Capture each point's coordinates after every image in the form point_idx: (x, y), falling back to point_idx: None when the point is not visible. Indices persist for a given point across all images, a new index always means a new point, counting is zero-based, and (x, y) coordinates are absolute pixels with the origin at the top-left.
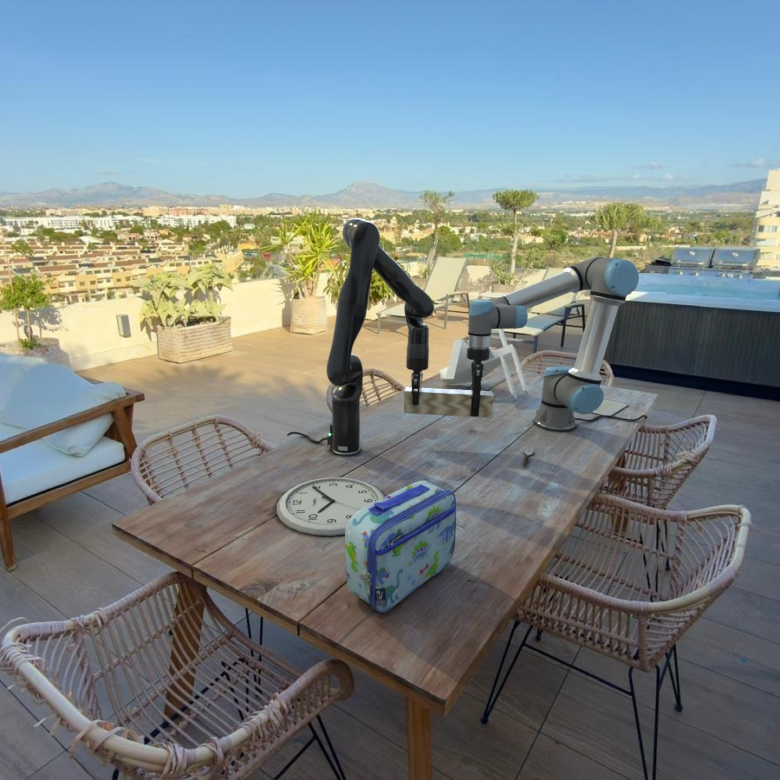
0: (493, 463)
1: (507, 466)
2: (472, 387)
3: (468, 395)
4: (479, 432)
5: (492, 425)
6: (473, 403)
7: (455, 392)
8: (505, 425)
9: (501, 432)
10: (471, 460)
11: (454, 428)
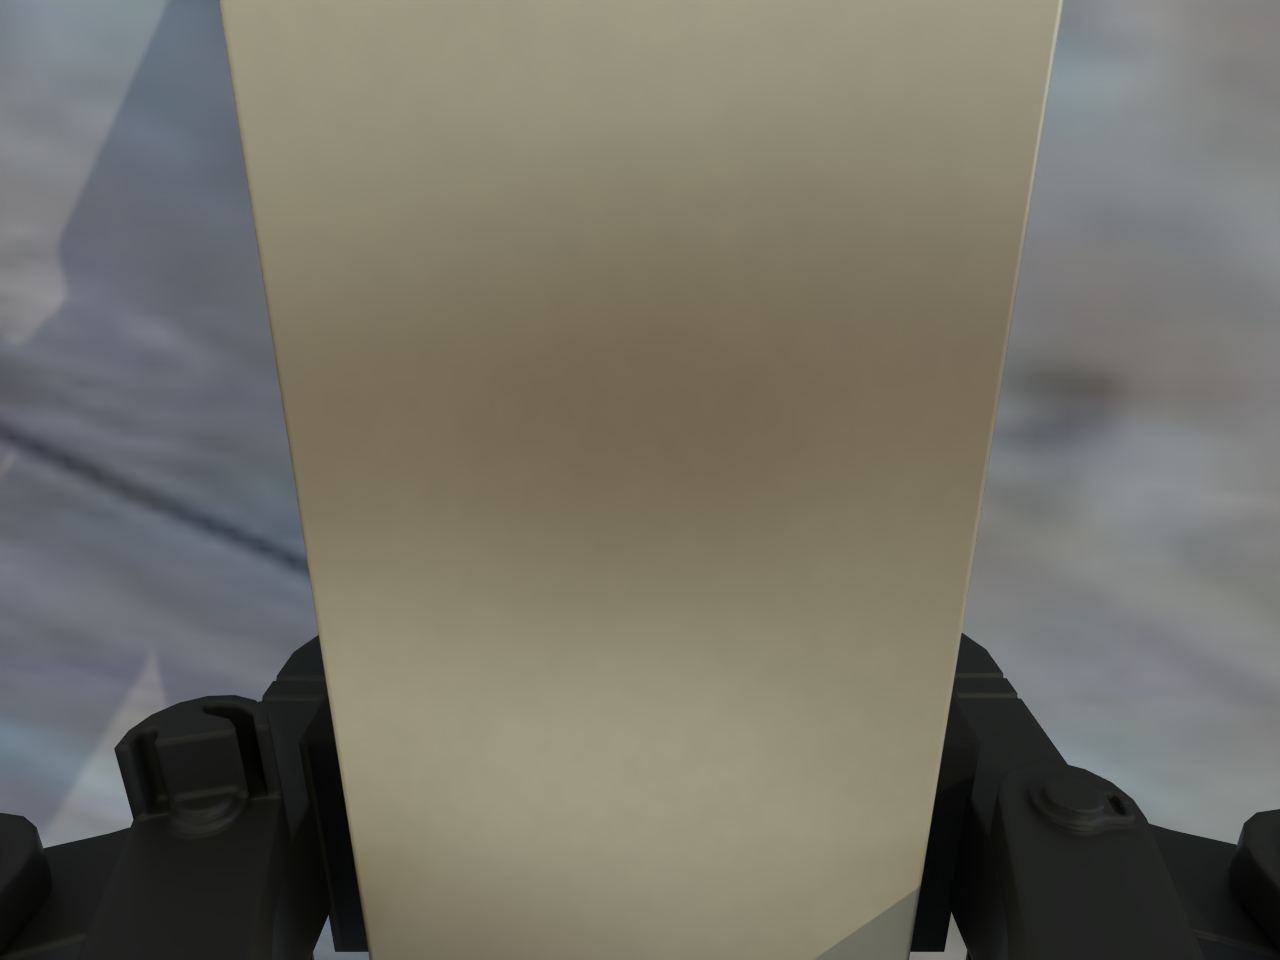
0: (224, 573)
1: (201, 683)
2: (1016, 937)
3: (335, 680)
4: (1034, 481)
5: (1245, 626)
6: (314, 693)
7: (470, 107)
8: (1232, 746)
9: (1032, 696)
10: (222, 367)
11: (1183, 172)
